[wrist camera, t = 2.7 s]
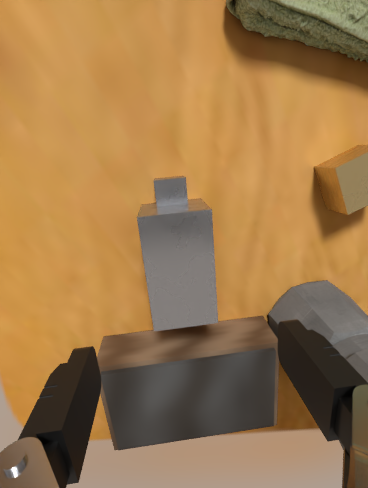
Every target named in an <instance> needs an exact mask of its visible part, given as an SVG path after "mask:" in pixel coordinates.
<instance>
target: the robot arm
mask: <svg viewBox="0 0 368 488" xmlns="http://www.w3.org/2000/svg"><path fill="white" fill-rule="evenodd" d="M277 351H278V357H279V360H280V363H281V365H282V367H283V369H284V370H285V372H286V373H287V375H288V377H289V378H290V380H291V382H292V383H293V385H294V387H295V388H296V390H297V392H298V393H299V395H300V397H301V398H302V400H303V402H304V403H305V405H306V406H307V408H308V410H309V411H310V413H311V415H312V416H313V418H314V420H315V421H316V423H317V425H318V426H319V428H320V430H321V431H322V433H323V434H324V436H325V438H326V439H327V441H333V440H340V441H341V443H342V444H343V446H344V454H343V480H342V488H368V382H367V381H366V380H365V379H364V378H363V377H362V376H361V375H360V374H359V373H358V372H357V371H356V370H355V369H354V368H353V366H352V365H351V364H350V363H349V362H348V361H347V360H346V359H345V358H344V357H343V356H342V355H340V353H339V352H338V351H337V350H336V349H335V347H334V348H333V345H332V344H331V343H330V342H329V341H328V340H327V339H326V338H325V337H324V336H322V335H321V334H319V333H317V332H316V331H314V330H307V329H306V328H305V327H304V325H303V324H302V323H301V322H300V321H299V320H297V319H294V320H287V321H280V322H279V324H278V348H277ZM100 392H101V374H100V369H99V365H98V361H97V357H96V352H95V349H94V347H93V346H92V347H84V348H77V349H74V350H73V351H72V353H71V356H70V358H69V360H68V362H67V363H63V364H60V365H59V366H58V367H57V368H56V369H55V370H54V371H53V372H52V373H51V374H50V376H49V378H48V380H47V382H46V384H45V386H44V389H43V390H42V392H41V394H40V396H39V397H40V398H39V399H38V400H37V402H36V404H35V406H34V408H33V410H32V412H31V415H30V417H29V419H28V421H27V423H26V425H25V427H24V429H23V431H22V433H21V435H20V437H19V439H18V440H17V441H15V442H13V443H12V444H10V445H9V446H7V447H6V448H5V449H4V450H3V451H1V452H0V488H66V485H67V484H73V483H78V482H79V478H80V474H81V470H82V466H83V462H84V458H85V454H86V449H87V445H88V441H89V437H90V433H91V429H92V425H93V421H94V417H95V412H96V408H97V404H98V400H99V396H100Z"/></svg>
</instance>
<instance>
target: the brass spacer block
mask: <svg viewBox="0 0 368 488" xmlns="http://www.w3.org/2000/svg"><path fill="white" fill-rule="evenodd" d="M314 169H315V172H316V176H317V179H318V182H319V186H320V189H321V192H322V196H323V199H324V202H325V206H326V209H330V210H333V211H336V212H340V213H343V214H346V215H349V214H351V213H353V212H355V211H357V210H359V209H361V208H363V207H366V206H368V145H357V146H355V147H353V148H351V149H349V150H347V151H345V152H343V153H341V154H339V155H337V156H335V157H333V158H331V159H329V160H327V161H325V162H323V163H321V164H319V165H317V166H315V167H314Z"/></svg>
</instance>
